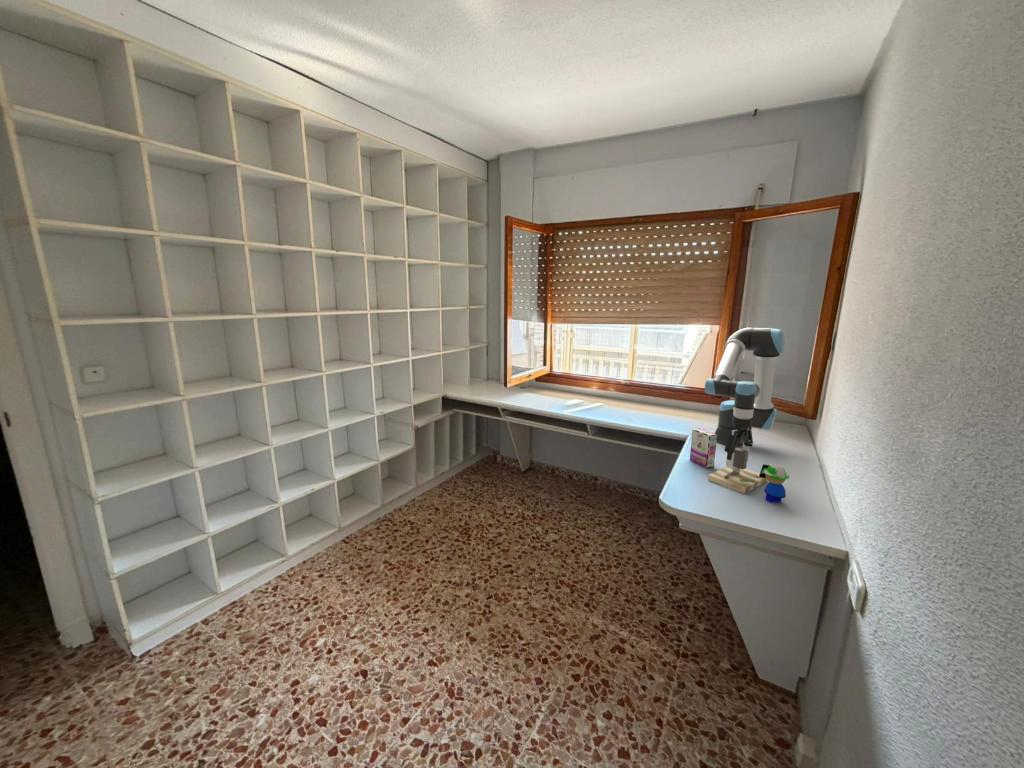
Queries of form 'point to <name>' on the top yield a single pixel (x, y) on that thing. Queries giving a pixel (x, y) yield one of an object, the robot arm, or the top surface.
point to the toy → (774, 482)
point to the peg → (739, 461)
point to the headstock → (737, 479)
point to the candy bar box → (703, 447)
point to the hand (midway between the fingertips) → (737, 462)
